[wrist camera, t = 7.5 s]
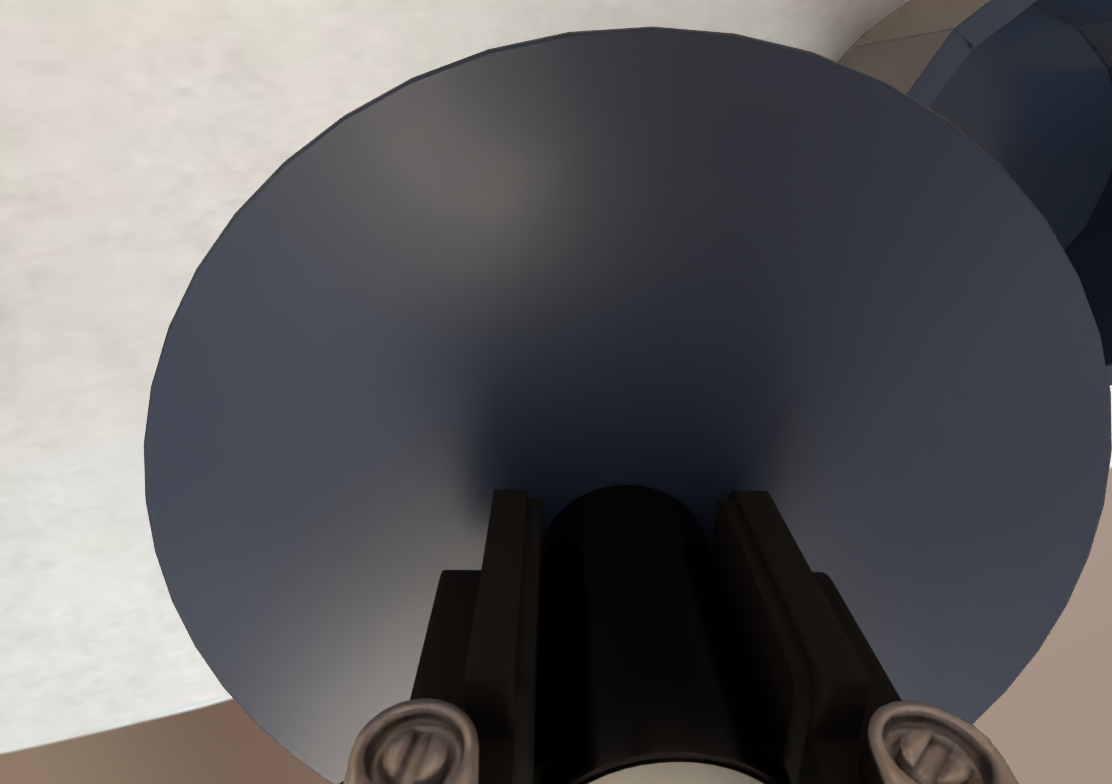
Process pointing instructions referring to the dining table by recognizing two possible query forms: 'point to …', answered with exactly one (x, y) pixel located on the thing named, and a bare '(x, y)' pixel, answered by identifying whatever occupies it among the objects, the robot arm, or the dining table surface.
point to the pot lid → (626, 395)
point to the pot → (1020, 107)
